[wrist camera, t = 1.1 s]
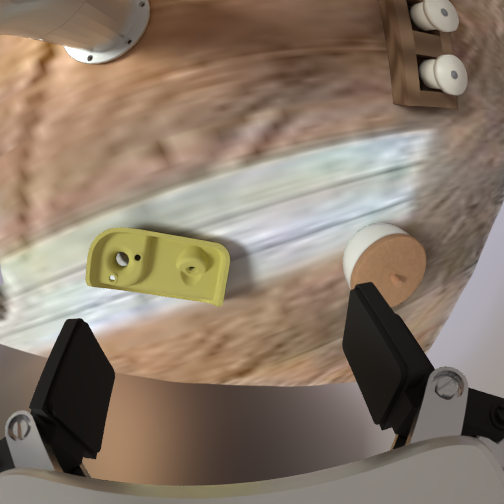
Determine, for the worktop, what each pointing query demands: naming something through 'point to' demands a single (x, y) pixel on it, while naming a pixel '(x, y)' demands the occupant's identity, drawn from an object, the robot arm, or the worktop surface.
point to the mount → (412, 55)
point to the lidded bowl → (385, 261)
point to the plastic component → (159, 265)
